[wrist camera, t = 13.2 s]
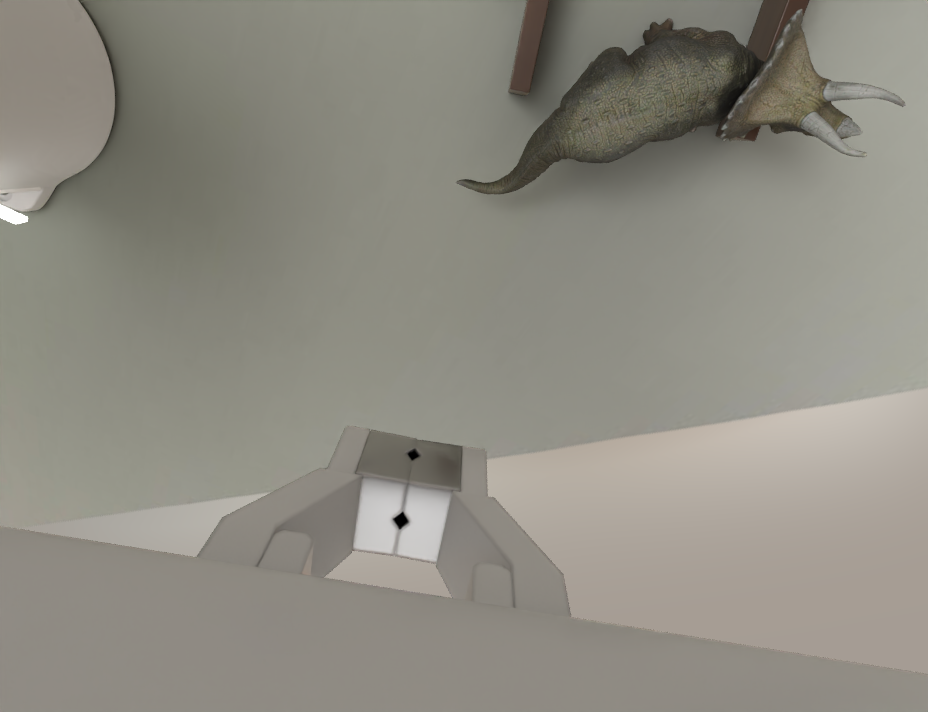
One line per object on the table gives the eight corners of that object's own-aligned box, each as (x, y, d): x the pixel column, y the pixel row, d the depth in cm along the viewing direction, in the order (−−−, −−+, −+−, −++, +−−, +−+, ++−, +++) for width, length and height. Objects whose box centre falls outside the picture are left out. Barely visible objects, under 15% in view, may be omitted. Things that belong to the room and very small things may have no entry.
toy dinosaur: (461, 194, 38) (451, 220, 28) (441, 61, 35) (420, 35, 24) (784, 142, 36) (903, 151, 25) (795, -5, 32) (936, -64, 22)
